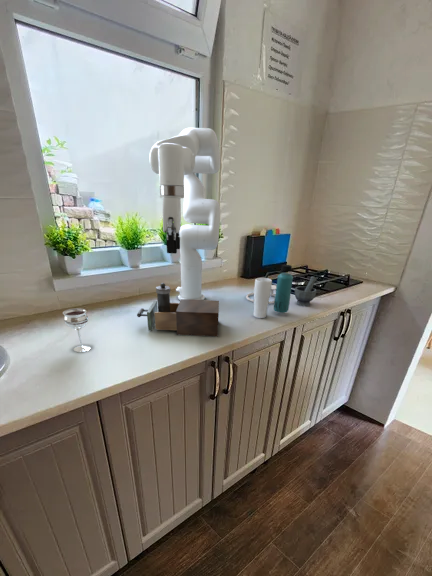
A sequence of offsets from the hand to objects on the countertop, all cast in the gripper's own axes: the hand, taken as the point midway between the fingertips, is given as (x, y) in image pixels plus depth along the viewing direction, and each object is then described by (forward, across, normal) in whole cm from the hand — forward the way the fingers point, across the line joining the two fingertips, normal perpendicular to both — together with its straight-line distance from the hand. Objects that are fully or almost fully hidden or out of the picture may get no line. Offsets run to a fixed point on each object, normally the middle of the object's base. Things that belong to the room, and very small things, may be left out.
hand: (173, 251), depth 109 cm
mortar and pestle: (+26, -33, +56) cm, 71 cm away
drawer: (+26, +3, -4) cm, 26 cm away
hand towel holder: (+26, -40, +39) cm, 61 cm away
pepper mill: (+24, +3, -4) cm, 25 cm away
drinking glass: (+26, -13, +33) cm, 44 cm away
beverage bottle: (+26, -17, +43) cm, 53 cm away
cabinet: (+26, +3, +9) cm, 28 cm away
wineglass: (+27, +24, -27) cm, 45 cm away
